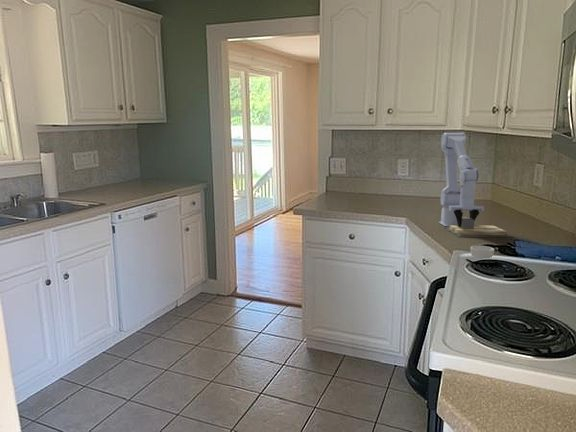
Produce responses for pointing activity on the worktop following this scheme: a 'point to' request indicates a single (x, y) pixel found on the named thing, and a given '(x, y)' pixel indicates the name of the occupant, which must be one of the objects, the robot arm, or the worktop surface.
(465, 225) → the block
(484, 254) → the teacup
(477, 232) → the pine board
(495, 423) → the worktop surface
